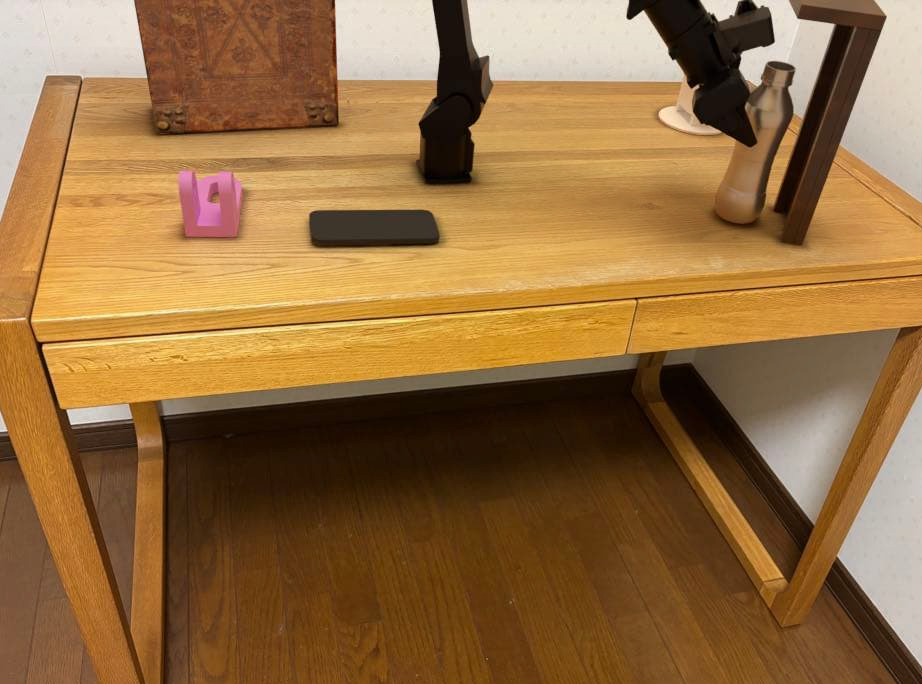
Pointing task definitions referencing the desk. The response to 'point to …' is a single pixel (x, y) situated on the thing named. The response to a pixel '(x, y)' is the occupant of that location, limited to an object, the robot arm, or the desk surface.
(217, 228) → the bracket
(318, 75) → the book
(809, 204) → the dark wooden stand
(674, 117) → the beige rounded piece
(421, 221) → the phone
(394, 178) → the desk surface
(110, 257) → the desk surface
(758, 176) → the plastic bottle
